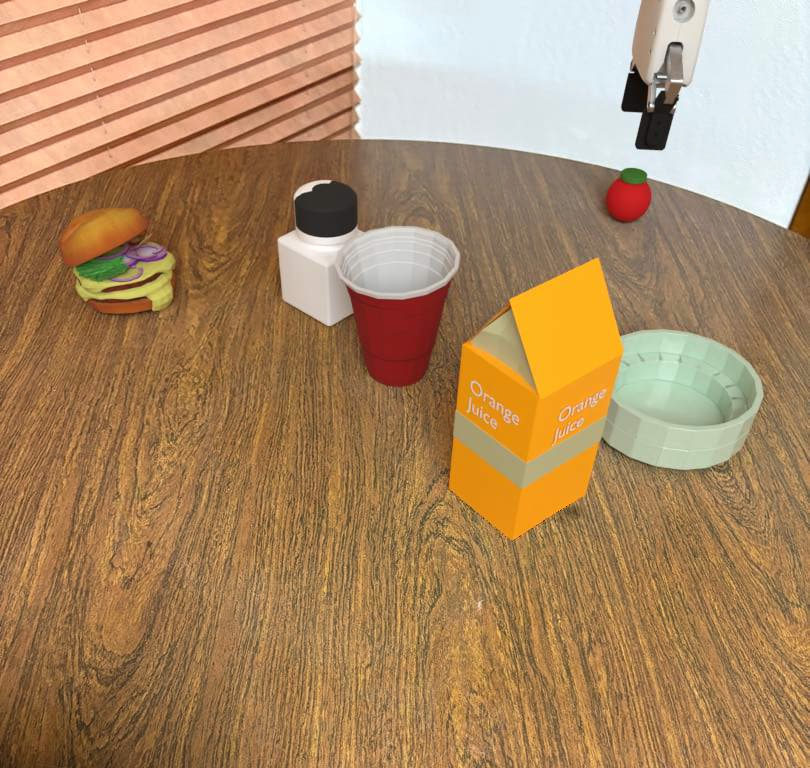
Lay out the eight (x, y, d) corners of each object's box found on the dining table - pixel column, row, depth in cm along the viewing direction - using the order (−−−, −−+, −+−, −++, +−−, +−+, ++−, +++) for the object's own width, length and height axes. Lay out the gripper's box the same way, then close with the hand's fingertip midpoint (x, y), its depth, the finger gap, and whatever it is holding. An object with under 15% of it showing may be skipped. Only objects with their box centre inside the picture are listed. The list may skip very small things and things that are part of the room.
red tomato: (619, 204, 106) (629, 159, 102) (654, 220, 103) (666, 174, 99) (593, 218, 103) (602, 172, 99) (628, 234, 101) (639, 188, 97)
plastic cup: (320, 352, 84) (313, 238, 75) (418, 325, 87) (423, 213, 78) (368, 418, 77) (367, 301, 68) (471, 386, 81) (484, 271, 72)
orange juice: (446, 489, 71) (466, 274, 57) (521, 445, 75) (558, 233, 60) (512, 544, 68) (553, 328, 53) (588, 495, 71) (645, 281, 57)
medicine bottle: (377, 300, 90) (378, 189, 81) (329, 328, 86) (324, 215, 77) (329, 275, 93) (325, 165, 84) (281, 301, 89) (271, 189, 80)
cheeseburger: (136, 335, 84) (93, 237, 78) (67, 323, 90) (21, 231, 83) (203, 287, 90) (168, 192, 84) (135, 279, 96) (97, 189, 89)
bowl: (645, 354, 85) (658, 311, 81) (773, 424, 78) (793, 380, 75) (554, 417, 78) (563, 372, 74) (686, 499, 72) (704, 454, 68)
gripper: (746, -22, 77) (691, 166, 90) (704, -74, 89) (660, 100, 101) (663, -27, 77) (619, 163, 90) (632, -78, 88) (597, 96, 101)
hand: (641, 129), depth 96 cm, fingers open, 9 cm apart
